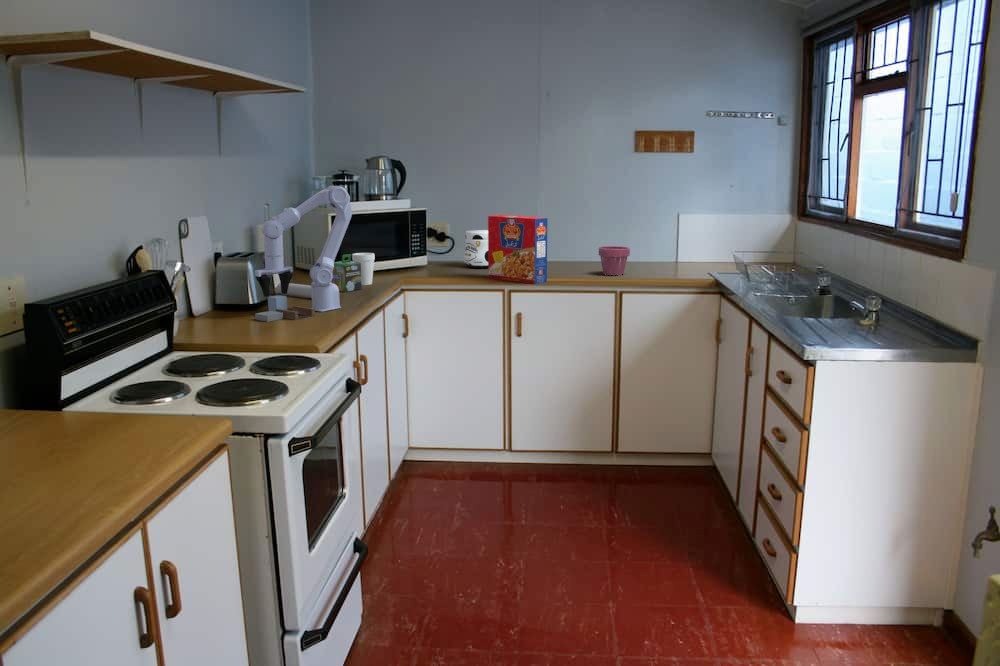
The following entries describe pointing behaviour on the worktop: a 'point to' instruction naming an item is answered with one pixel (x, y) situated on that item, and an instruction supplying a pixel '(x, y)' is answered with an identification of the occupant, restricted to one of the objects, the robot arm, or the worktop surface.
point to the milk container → (476, 248)
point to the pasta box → (517, 248)
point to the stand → (269, 316)
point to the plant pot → (613, 259)
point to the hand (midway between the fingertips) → (275, 294)
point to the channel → (297, 312)
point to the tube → (296, 290)
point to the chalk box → (347, 275)
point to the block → (277, 302)
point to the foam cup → (365, 266)
